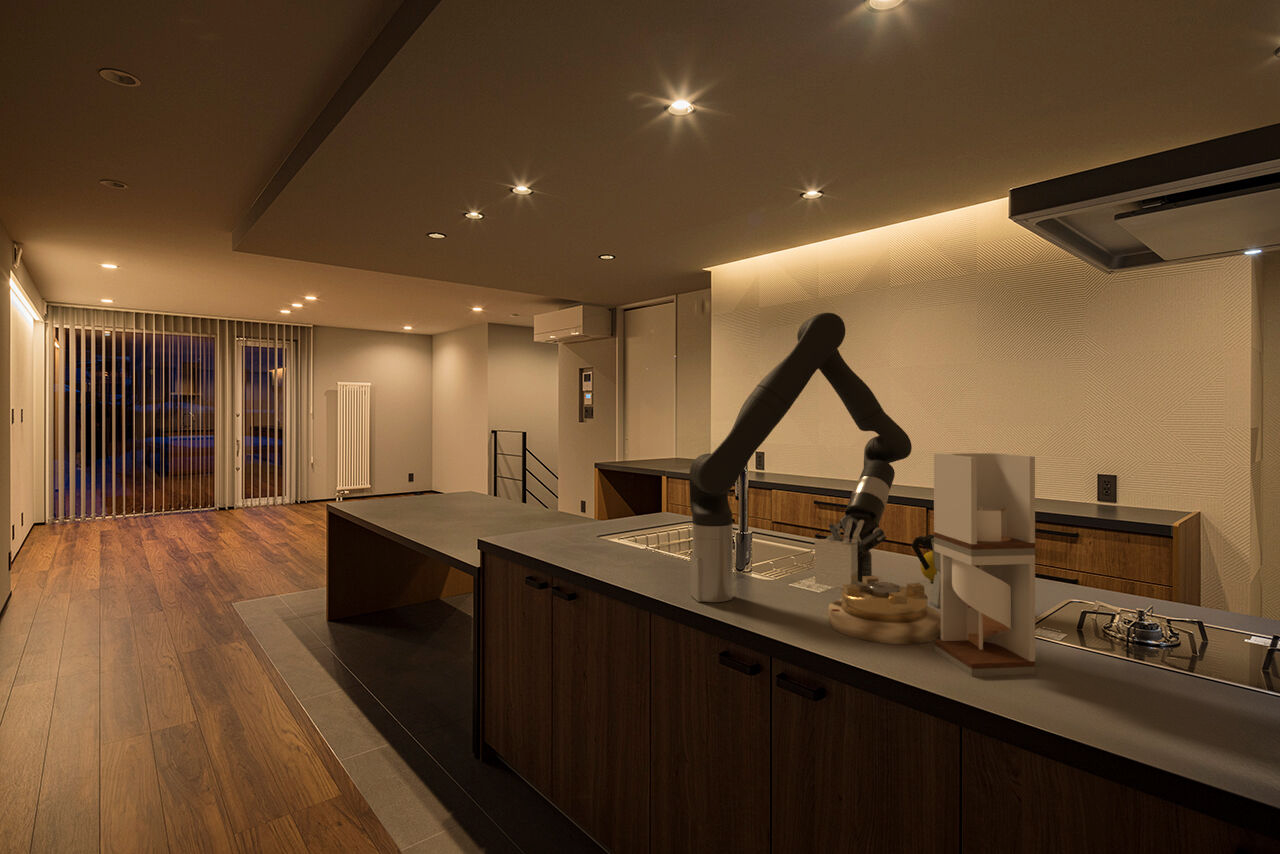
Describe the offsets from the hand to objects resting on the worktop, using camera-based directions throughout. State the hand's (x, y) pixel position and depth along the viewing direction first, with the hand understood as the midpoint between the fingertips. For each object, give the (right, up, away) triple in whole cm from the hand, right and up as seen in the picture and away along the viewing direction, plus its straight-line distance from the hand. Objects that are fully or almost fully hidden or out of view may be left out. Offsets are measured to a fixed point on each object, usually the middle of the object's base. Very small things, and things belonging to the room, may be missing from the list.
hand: (844, 564), depth 139 cm
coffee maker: (+24, -10, +6) cm, 27 cm away
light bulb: (+9, -10, +37) cm, 40 cm away
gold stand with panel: (+3, -7, -7) cm, 10 cm away
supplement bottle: (+10, -10, +21) cm, 25 cm away
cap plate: (+5, -10, -9) cm, 14 cm away
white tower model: (+15, -11, -28) cm, 33 cm away
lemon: (+30, -10, +26) cm, 41 cm away
